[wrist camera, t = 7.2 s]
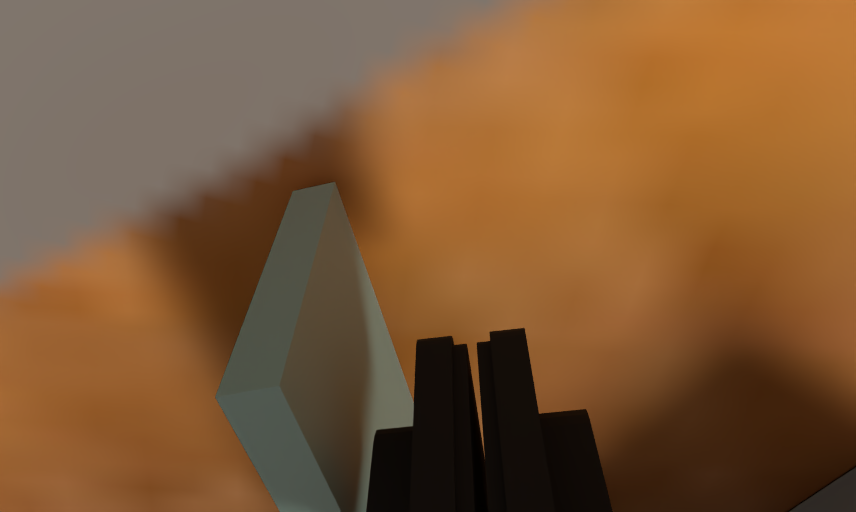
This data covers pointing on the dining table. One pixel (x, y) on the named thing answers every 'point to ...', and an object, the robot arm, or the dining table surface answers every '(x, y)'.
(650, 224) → the dining table surface
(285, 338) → the door
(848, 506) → the box
